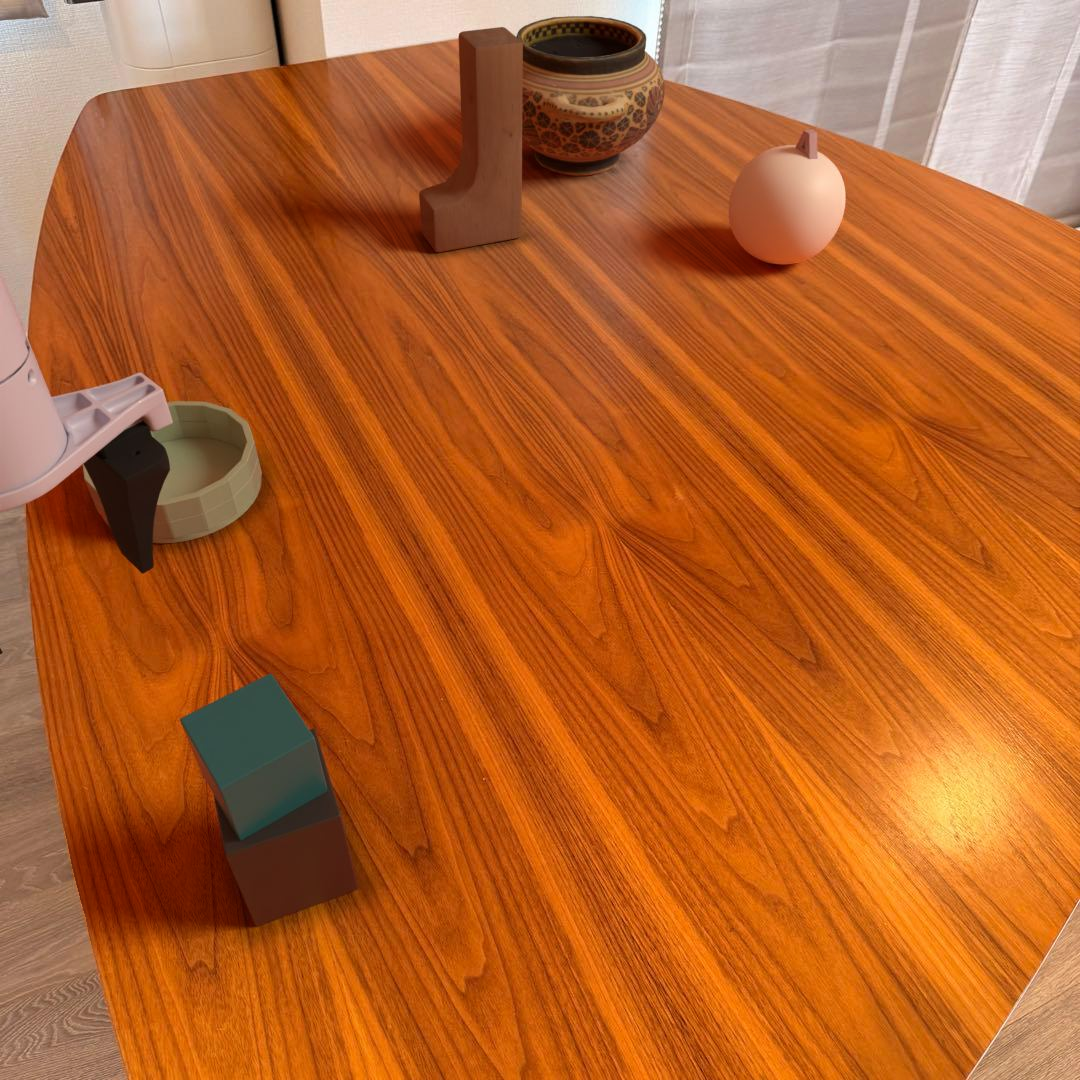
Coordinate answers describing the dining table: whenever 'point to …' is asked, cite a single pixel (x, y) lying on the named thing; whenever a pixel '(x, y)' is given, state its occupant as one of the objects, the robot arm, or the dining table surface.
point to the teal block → (255, 755)
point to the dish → (201, 472)
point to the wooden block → (482, 149)
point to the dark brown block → (292, 857)
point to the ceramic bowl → (586, 91)
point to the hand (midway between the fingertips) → (65, 601)
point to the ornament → (787, 202)
